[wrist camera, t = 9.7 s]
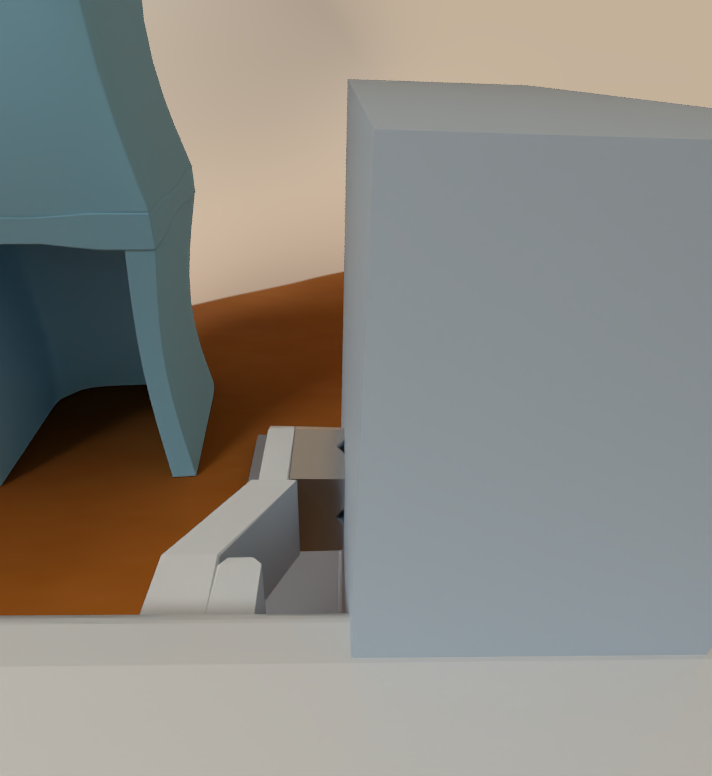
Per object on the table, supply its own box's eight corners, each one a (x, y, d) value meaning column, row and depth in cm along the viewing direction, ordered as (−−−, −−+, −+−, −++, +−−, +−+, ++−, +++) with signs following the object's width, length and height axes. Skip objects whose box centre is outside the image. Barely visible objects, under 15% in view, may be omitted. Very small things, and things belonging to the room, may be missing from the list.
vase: (218, 372, 33) (145, -186, 20) (196, 476, 25) (46, -360, 12) (56, 377, 32) (-136, -210, 19) (-23, 488, 24) (-466, -420, 11)
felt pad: (211, 671, 17) (209, 661, 17) (258, 443, 27) (257, 434, 27) (568, 666, 18) (572, 656, 17) (484, 445, 28) (486, 436, 27)
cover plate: (337, 944, 11) (373, 131, 3) (338, 575, 18) (347, 78, 10) (511, 938, 11) (1052, 150, 3) (439, 574, 18) (527, 85, 10)
